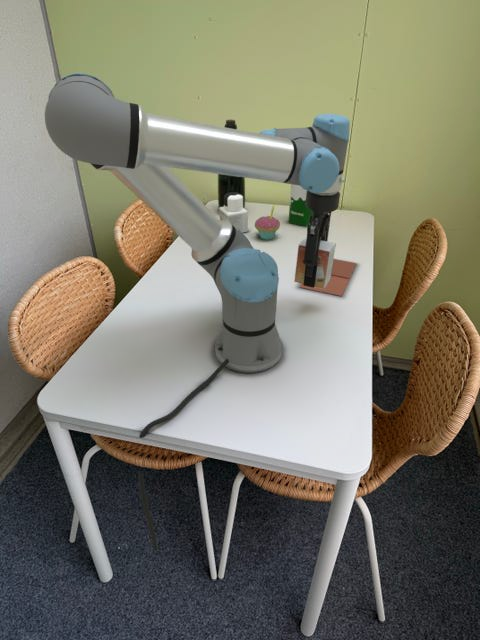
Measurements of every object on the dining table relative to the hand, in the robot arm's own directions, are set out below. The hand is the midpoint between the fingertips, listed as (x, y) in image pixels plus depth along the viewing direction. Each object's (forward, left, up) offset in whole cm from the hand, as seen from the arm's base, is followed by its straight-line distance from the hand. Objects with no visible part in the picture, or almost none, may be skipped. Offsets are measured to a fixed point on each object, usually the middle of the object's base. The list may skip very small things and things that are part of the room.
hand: (312, 279), depth 112 cm
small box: (0, 0, -1) cm, 1 cm away
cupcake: (+36, +26, -8) cm, 45 cm away
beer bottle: (+53, +47, -8) cm, 71 cm away
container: (+37, +39, -8) cm, 54 cm away
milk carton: (+54, +19, -8) cm, 58 cm away
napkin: (+18, -1, -8) cm, 20 cm away
